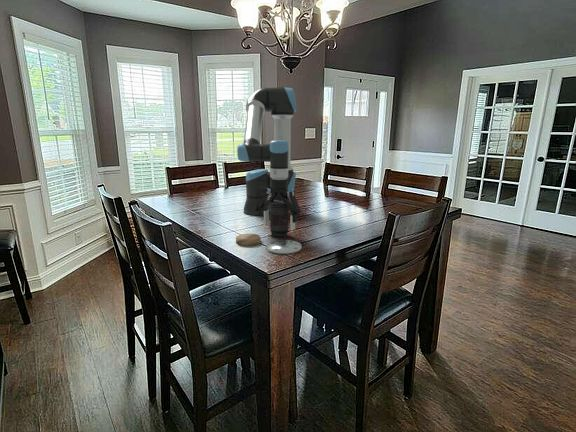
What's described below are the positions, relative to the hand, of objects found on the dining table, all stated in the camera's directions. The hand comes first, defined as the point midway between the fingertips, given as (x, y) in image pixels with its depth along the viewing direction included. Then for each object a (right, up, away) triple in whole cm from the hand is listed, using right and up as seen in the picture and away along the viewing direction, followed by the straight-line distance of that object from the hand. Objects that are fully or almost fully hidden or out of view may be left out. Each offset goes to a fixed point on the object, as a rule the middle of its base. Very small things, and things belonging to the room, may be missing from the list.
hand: (279, 227), depth 147 cm
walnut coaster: (-13, -6, -7) cm, 16 cm away
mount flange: (+2, -8, -14) cm, 16 cm away
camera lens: (0, -4, +1) cm, 4 cm away
